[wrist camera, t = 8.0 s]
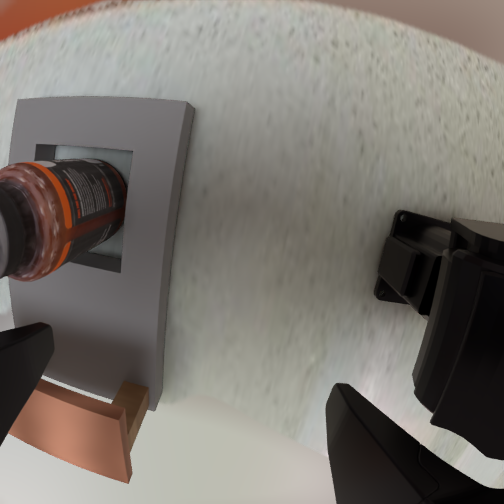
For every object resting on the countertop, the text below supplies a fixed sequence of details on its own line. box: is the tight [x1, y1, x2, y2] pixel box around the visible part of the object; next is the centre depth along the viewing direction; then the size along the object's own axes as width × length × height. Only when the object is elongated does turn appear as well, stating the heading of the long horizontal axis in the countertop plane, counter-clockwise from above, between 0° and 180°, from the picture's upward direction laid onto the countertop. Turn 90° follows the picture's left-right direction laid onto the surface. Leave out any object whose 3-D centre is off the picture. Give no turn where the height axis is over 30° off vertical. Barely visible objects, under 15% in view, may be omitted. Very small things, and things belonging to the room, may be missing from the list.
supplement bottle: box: [0, 159, 127, 282], centre depth 15 cm, size 6×6×11 cm
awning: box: [8, 379, 149, 484], centre depth 17 cm, size 13×6×8 cm, turn 80°
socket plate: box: [8, 96, 195, 411], centre depth 20 cm, size 13×22×2 cm, turn 170°
